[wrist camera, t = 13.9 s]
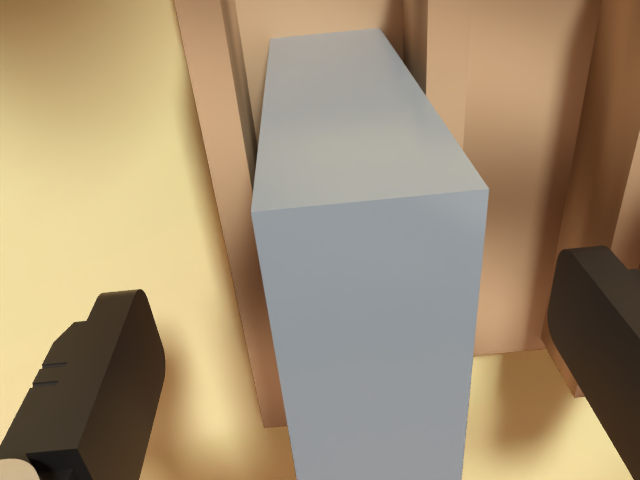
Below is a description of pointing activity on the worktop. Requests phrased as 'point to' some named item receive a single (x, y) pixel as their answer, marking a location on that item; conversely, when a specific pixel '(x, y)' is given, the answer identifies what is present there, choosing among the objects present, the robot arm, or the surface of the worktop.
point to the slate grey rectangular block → (366, 260)
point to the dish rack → (464, 124)
